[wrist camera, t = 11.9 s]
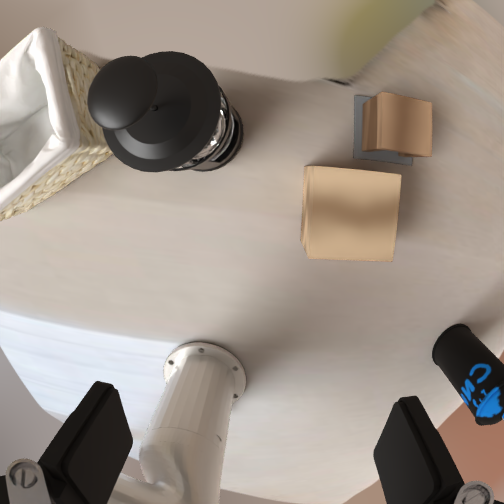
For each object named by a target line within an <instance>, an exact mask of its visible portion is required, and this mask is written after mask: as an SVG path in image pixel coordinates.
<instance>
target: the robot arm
mask: <svg viewBox="0 0 504 504" xmlns="http://www.w3.org/2000/svg"><path fill="white" fill-rule="evenodd" d="M163 374H164V379H165V382H166V384H167V385H166V387H165V389H164V392H163V394H162V396H161V398H160V401H159V403H158V405H157V408H156V410H155V412H154V415H153V417H152V419H151V422H150V424H149V426H148V429H147V431H146V433H145V436H144V438H143V441H142V443H141V446H140V450H139V461H140V466H141V469H142V472H143V475H144V477H145V479H146V482H144V481H141V480H137V479H135V478H132V477H130V476H127V475H125V474H123V473H121V470H122V468H123V466H124V463H125V461H126V459H127V457H128V454H129V452H130V450H131V448H132V444H133V438H132V435H131V432H130V429H129V426H128V423H127V419H126V416H125V413H124V410H123V406H122V403H121V399H120V396H119V392H118V390H117V389H115V388H114V386H113V385H112V384H109V383H104V382H100V381H96V382H95V383H94V384H93V385H92V387H91V388H90V390H89V391H88V392H87V394H86V395H85V397H84V398H83V399H82V401H81V402H80V404H79V405H78V406H77V408H76V409H75V411H73V412H72V413H71V414H70V416H69V417H68V418H67V420H66V421H65V423H64V424H63V426H62V427H61V428H60V430H59V431H58V433H57V434H56V436H55V437H54V439H53V440H52V441H51V443H50V444H49V446H48V447H47V449H46V450H45V452H44V454H43V455H42V456H41V458H40V459H39V461H38V462H37V463H36V462H35V461H32V460H30V459H18V460H15V461H14V462H12V463H11V464H10V465H9V466H8V468H7V470H6V475H4V476H0V504H219V495H220V483H221V475H222V468H223V461H224V453H225V447H226V440H227V434H228V427H229V421H230V414H231V407H232V404H233V403H234V402H236V401H237V400H238V399H239V398H240V397H241V396H242V394H243V392H244V390H245V385H246V375H245V370H244V368H243V366H242V364H241V363H240V362H239V360H238V359H237V358H236V357H235V356H234V355H232V354H231V353H230V352H228V351H227V350H225V349H223V348H221V347H219V346H216V345H213V344H209V343H201V342H196V343H188V344H184V345H182V346H179V347H177V348H176V349H174V350H173V351H172V352H171V353H170V354H169V356H168V357H167V359H166V361H165V364H164V369H163ZM374 460H375V464H376V467H377V471H378V474H379V477H380V481H381V484H382V488H383V491H384V495H385V499H386V502H387V504H504V503H503V502H499V501H496V500H494V494H493V491H492V489H491V487H490V486H488V485H487V484H486V483H483V482H481V481H471V482H468V483H466V484H464V481H463V479H462V477H461V475H460V473H459V471H458V469H457V467H456V465H455V463H454V461H453V459H452V457H451V455H450V453H449V451H448V449H447V447H446V445H445V443H444V442H443V440H442V438H441V436H440V434H439V432H438V431H437V429H435V427H434V425H433V424H432V422H431V420H430V418H429V416H428V414H427V413H426V411H425V409H424V407H423V405H422V404H421V402H420V400H419V398H418V397H417V396H409V397H402V398H400V399H399V400H398V402H395V403H394V405H393V408H392V410H391V413H390V415H389V417H388V420H387V422H386V425H385V427H384V429H383V432H382V434H381V436H380V438H379V440H378V443H377V445H376V447H375V449H374Z"/></svg>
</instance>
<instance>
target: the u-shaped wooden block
mask: <svg viewBox="0 0 504 504" xmlns="http://www.w3.org/2000/svg"><path fill="white" fill-rule="evenodd" d="M381 150H389V151H396V152H398V156H401V157H432V103H430V102H427V101H423V100H419V99H414V98H410V97H406V96H401V95H397V94H392V93H387V92H381V93H379V94H378V95H376V96H374V97H373V98H371V99H370V100H368V101H366V102H365V103H363V112H362V151H366V152H373V151H381Z"/></svg>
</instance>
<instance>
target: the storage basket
mask: <svg viewBox="0 0 504 504" xmlns="http://www.w3.org/2000/svg"><path fill="white" fill-rule="evenodd" d="M99 71H100V69H99V67H98V66H97V65H96V64H95V63H94V62H92V61H91V60H89V58H87V57H86V56H85V55H84V54H82V53H80V52H78V51H77V50H76V49H75V48H72V47H71V46H70V45H67V44H66V43H65V41H64V40H62V39H60V38H59V37H58V36H57V33H56V31H55V30H53V29H49V28H45V27H39V28H36V29H35V30H33V31H32V32H31V33H30V34H29V35H28V36H26V37H25V38H24V39H23V40H22V41H21V42H20V43H18V44H17V45H16V46H15V47H14V48H13V49H12V50H11V51H9V52H8V53H7V54H6V55H5V56H4V57H3V58H2V59H1V60H0V221H2V220H3V219H9V218H11V217H12V216H16V215H18V214H21V213H24V212H26V211H28V210H29V209H31V208H33V207H34V206H36V205H37V204H38V203H41V202H42V201H44V200H45V199H46V198H48V197H50V196H52V195H54V194H55V193H56V192H57V191H59V190H61V189H63V188H64V187H66V186H67V185H68V184H69V183H70V182H71V181H73V180H75V179H77V178H78V177H79V176H81V175H82V174H83V173H85V172H87V171H89V170H90V169H92V168H93V167H95V166H96V165H97V164H98V163H100V162H102V161H104V160H106V159H107V158H108V157H109V156H110V155H112V154H113V152H112V151H111V150H110V148H109V147H108V144H107V142H106V140H105V138H104V134H103V129H102V127H100V126H99V125H98V124H97V123H95V121H94V120H93V119H92V117H91V115H90V113H89V110H88V105H87V97H88V91H89V88H90V85H91V83H92V81H93V79H94V77H95V76H96V74H97V73H98V72H99Z"/></svg>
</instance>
